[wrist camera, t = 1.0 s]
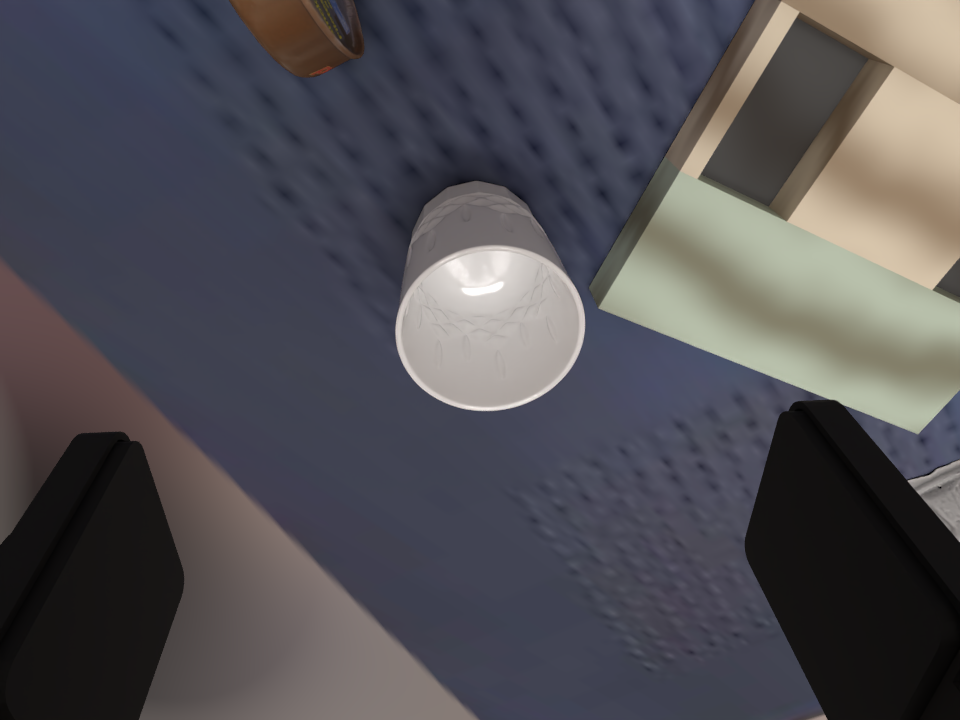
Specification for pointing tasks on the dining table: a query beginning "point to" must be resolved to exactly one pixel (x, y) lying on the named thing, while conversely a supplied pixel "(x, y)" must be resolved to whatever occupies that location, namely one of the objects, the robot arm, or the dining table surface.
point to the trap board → (814, 208)
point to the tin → (304, 32)
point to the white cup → (485, 302)
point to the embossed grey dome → (942, 494)
